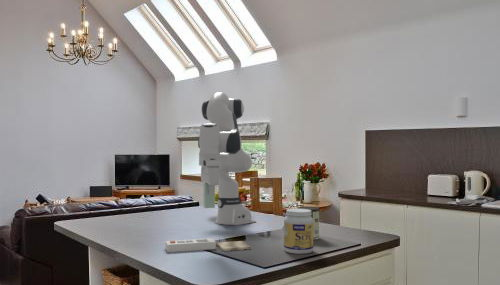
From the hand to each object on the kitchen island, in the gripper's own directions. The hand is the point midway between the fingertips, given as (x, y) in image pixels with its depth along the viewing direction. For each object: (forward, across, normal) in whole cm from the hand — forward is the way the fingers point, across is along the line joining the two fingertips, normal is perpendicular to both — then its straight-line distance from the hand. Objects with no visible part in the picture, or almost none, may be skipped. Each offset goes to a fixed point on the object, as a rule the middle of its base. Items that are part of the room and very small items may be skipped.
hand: (209, 194), depth 195 cm
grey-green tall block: (+6, 0, 0) cm, 6 cm away
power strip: (+23, 0, -8) cm, 24 cm away
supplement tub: (+23, +16, +34) cm, 44 cm away
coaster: (+23, +2, +10) cm, 25 cm away
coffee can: (+23, -7, +49) cm, 55 cm away
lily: (+23, -29, +49) cm, 61 cm away
